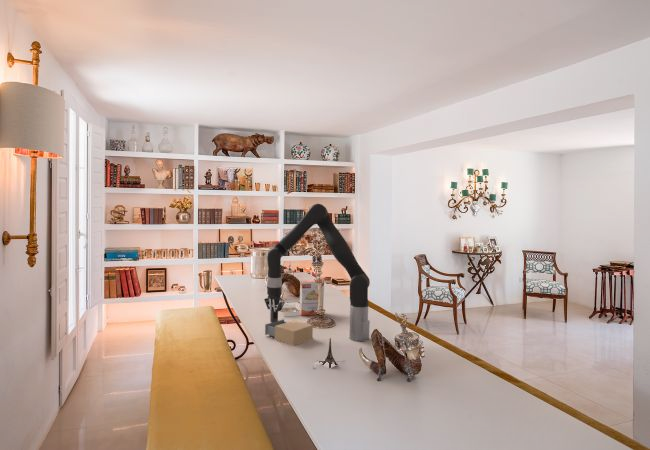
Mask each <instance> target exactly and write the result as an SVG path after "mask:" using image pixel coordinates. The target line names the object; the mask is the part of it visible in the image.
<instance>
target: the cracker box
mask: <svg viewBox="0 0 650 450" xmlns="http://www.w3.org/2000/svg"><path fill="white" fill-rule="evenodd" d="M299 281H300V283H299V284H300V286H299V315H300V316H302V317H303V316H318V315H317V312H316V311H317V309H318V289H317V284H316V282H315V279H313V280H312V279H311V280H310V279H309V280H299ZM324 293H325V281H323V283H322V308H323V309H324V296H325V295H324Z"/></svg>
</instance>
